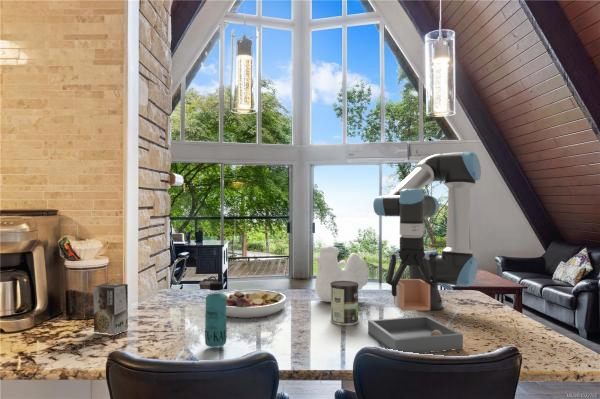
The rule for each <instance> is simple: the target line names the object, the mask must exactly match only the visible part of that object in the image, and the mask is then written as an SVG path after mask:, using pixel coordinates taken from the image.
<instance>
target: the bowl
mask: <svg viewBox="0 0 600 399" xmlns="http://www.w3.org/2000/svg"><path fill="white" fill-rule="evenodd" d="M222 293H223V294H225V295H226V297H227V299H226V316H227V317H231V318H236V317H238V319H239V318H241V319H251V318H252V319H253V318H254V317H255V318H262V317H267V316H271V315H274V314H277V313H278V312H280V311H281V310H283V309H284V307H285V305H286V302H287V300H286V299H287V298H286V295H285V294H283V293H281V292H278V291H273V290H266V289H242V290H241V289H239V290H232V291H225V292H222Z"/></svg>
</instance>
